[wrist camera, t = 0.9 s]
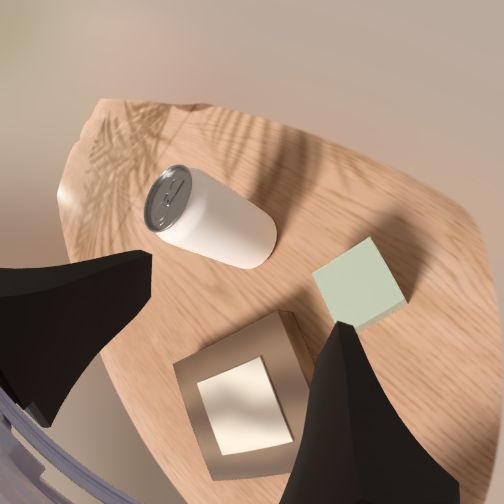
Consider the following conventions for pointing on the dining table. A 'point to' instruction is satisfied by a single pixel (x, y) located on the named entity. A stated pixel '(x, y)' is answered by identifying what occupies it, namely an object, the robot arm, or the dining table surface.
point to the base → (249, 398)
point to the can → (208, 218)
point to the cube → (359, 287)
